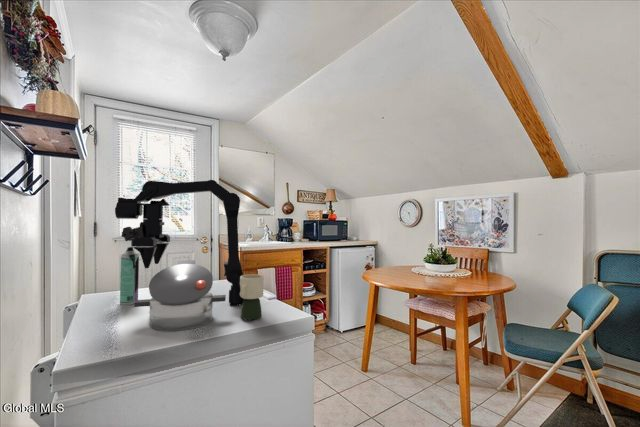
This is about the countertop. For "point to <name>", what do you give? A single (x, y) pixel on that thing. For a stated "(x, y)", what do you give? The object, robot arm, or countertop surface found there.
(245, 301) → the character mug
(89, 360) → the countertop surface
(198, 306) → the cooker pot
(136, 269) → the spray can
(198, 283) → the cooker lid
